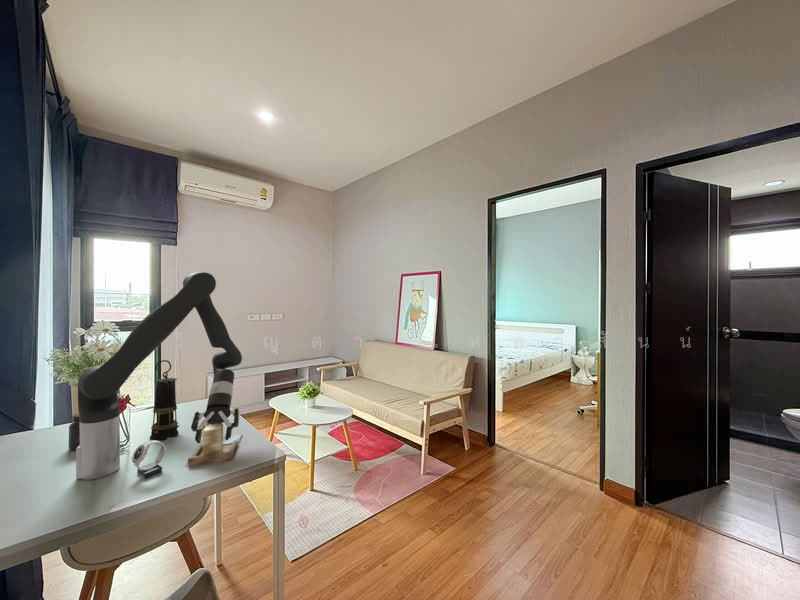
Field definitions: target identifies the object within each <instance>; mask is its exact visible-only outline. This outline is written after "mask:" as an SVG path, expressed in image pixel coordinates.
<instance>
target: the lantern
mask: <svg viewBox="0 0 800 600" xmlns="http://www.w3.org/2000/svg"><path fill="white" fill-rule="evenodd" d="M163 362H166V363H167V364H168V365H169V369H168V370H167V371H164V372H162V373H163V374H162V377H163V378H159V379H156V380H154V382H155V383H156V387H155V397H154V407H153V409H152V410H153V411H152V412H153V418H152V419H153V420H152V425H151V428H150V429H151V433H150V434H151V435H150V436H149V441H151V440H157V441H159V442H164V441H166V440H168V439H171V438H176V437H177V436H178V435H179V431H178V428H179V427H180V425H179V423H178V421H177V419H178V418H177V409H178V406H177V400H176V399H177V397H176V396H177V395H176V381H177V380H178V379H177V378H175V377H168V376H169V374H168V373H169V372H170V371H171V369H172V364H171V362H170V361H169V360H167V359H165V360H164V359H163V360H160V361H158V362H157V363H156V365H155V371H158V366H159V364H161V363H163ZM174 417H175V418H174ZM155 418H156V419H155ZM155 420H156V422H155Z"/></svg>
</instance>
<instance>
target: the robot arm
mask: <svg viewBox="0 0 800 600" xmlns="http://www.w3.org/2000/svg"><path fill="white" fill-rule="evenodd" d="M216 286H217V280H216V279H215V277H214V275H212V274H211V273H209V272H206V271H205V272H204V271H197V272H192V273H190V274H188V275H186V276H185V277H184V279H183V281H182V288H181V289H180V290H179V291H178V292H177V293H176V294H175V295H174V296H173V297H172V298H169V300H167V301H166V302H164V303H162V304H161V305H159V306H157V308H155V309H154V310H153V311H151V312H150V313H149V314H147V315H146V316H145V317H144V318H143V319H142V320H140V322H139V323H138V324H137V325H136V326H135V327H134V328H133V330H132V331H131V332H130V333H129V335H128V336H127V337H126V339H125V341H123V343H122V345H121V347H120V348H119V349H118V351H117V352H116V353H114V354H113V355H112V356H111V357H110V358H109V359H108V360H107V361H105V362H104V363H103V364H102V365H95V366H92V367H89V368H86V370H84V371H83V372H82V373H81V375H80V376H79V378H78V380H77V409H78V414H79V418H80V446H78V447H77V448H76V451H75V479H76V480H79V479H80V480H85V481H88V480H89V481H90V480H91V481H92V480H96V479H100V478H104V477H107V476H109V475H112V474H114V473H115V472H117V470H119V469H120V467H121V451H120V450H121V446H120V445H121V444H120V443H121V441H120V440H121V437H120V436H121V434H120V424H121V423H120V421H121V420H120V419H121V417H120V411H121V410H120V408H121V407H120V404H119V400H118V390H119V389H121V387H122V386H123V385H124V384H125V382H126V381H127V380H128V378H129V377H130V376H131V374H132V373H134V371H135V370H136V368H137V367H138V366H139V365H140V364H141V363H142V362H143V361H144V360H145V359H147V357H149V356H150V355H151V354H152V353H153V352H154V351H155V350H156V349H157V348H158V347H159V346H160V345H161V344H162V343H163V342H164V341H165V340H166V339H167V338H168V337H169V336H170V335H171V334H172V333H173V332H174V331H175V329H177V327H178V326H179V325H180V324H181V323H183V322H184V320H185V319H186V317H187V316H188V315H189V314H190V312H192V311H193V309H195V310H196V312H197V313H198V316H199V318H200V320H201V322H202V323H201V324H202V326H203V327H204V329H205V330H204V331H205V333H206V335H207V338H208V340H209V344H210V345H211V347H212V348H214V349H220V348H221V349H223V351H222V350H221V351H218V352H216V353H215V354H214V355H212V359H211V360H212V361H211V364H212V370H213V379H212V383H211V384H212V385H211V388H210V390H209V395H208V399H207V405H206V410H205V411H204V412H199V411H196V412H195V413H194V416H193V419H192V423H191V425H190V429H191V430H192V432H195V436H194V440H195V442H196V444H200V442H201V441H202V438H203V430H204V428H205V427H206V426H207V425H211V424H222V423H223V424H224V425H225V426H226V430H225V435H224V436H225V439H226V440H229V438H230V437H231V436H232V432H233V431H232V430H233V429H234V428H238V427H239V424H240V423H239V420H240V410H239V408H238V407H237V408H235V409H231V405H232V400H233V399H232V398H233V396H234V395H233V393H234V391H233V390H234V389H233V388H234V380H235V372H234V371H233V370H231V369H229V368H233V367H237V366H239V365H241V363H242V361H243V356H242V352H241V351H240V350H239V348H238V347H237V346H236V345H235V343H234V342H233V340H232V338H231V337H230V335H229V332H228V329H227V327H226V324H225V322H224V320H223V318H222V317H221V315H220V314H219V312H218V310H217V309H216V308H215V305H214V303H213V301H212V297H211V294H212V293H213V292H214V291H215V289H216ZM231 415H232V417H234V418H233V422H231V421H230V420H229V419H228V418H229V417H230V416H231ZM203 418H204V419H203ZM202 419H203V420H202ZM201 420H202V421H201ZM200 421H201V423H200V424H199V422H200Z"/></svg>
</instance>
